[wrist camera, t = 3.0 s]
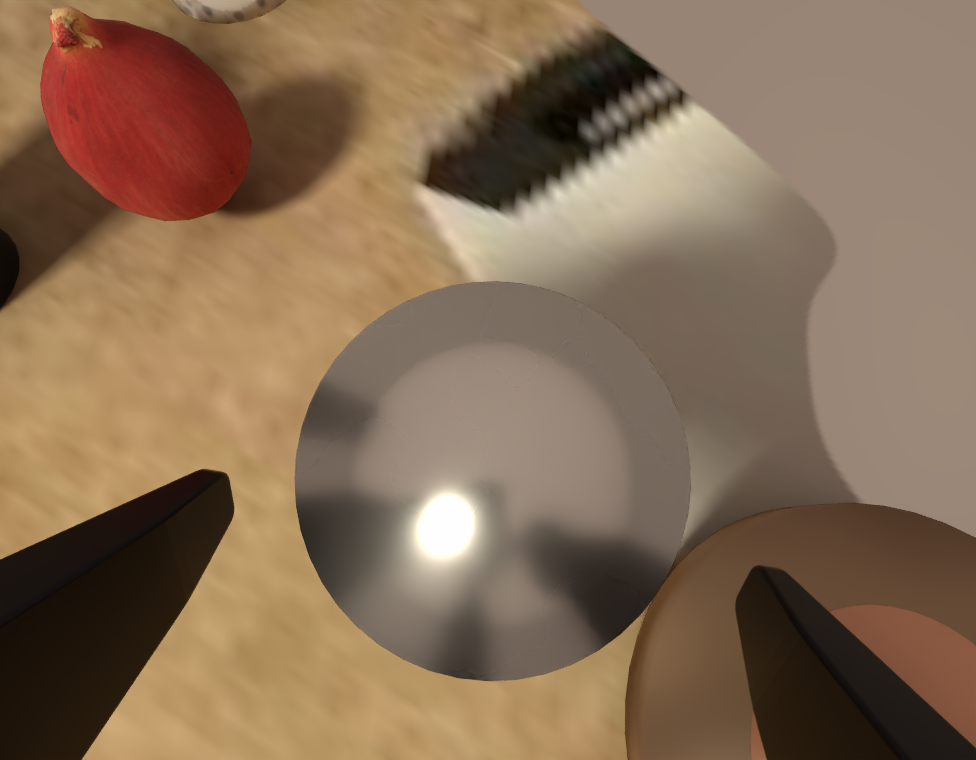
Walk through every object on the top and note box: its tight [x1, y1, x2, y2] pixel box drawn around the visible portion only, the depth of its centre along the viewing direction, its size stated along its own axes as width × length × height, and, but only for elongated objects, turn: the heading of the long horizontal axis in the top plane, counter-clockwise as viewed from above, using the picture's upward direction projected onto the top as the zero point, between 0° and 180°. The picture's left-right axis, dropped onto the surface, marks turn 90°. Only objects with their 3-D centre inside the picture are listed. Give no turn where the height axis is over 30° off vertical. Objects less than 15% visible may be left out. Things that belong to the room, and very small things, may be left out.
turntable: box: [625, 503, 976, 760], centre depth 14 cm, size 13×13×3 cm
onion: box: [40, 7, 251, 221], centre depth 17 cm, size 6×6×8 cm
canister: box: [295, 281, 691, 681], centre depth 12 cm, size 6×6×10 cm
